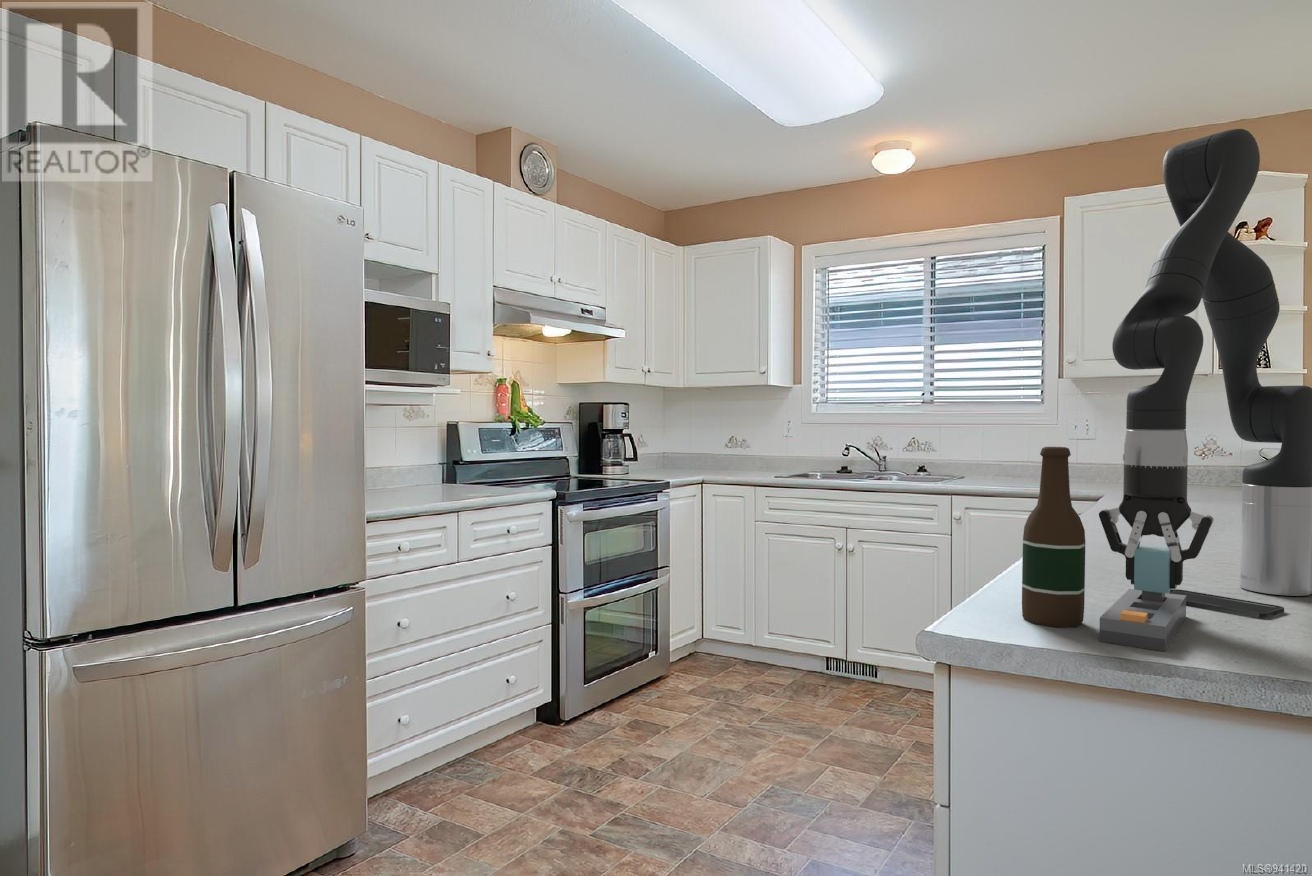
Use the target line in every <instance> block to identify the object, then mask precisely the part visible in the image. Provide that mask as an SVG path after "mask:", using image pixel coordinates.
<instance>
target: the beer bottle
mask: <svg viewBox="0 0 1312 876" xmlns="http://www.w3.org/2000/svg"><path fill="white" fill-rule="evenodd" d="M1039 455H1040V456H1041V457H1042V458H1041V469H1040V470H1041V472H1040V482H1039V493H1038V494H1039V495H1038V499H1037V503H1036V506H1035V507H1034V509H1033V510H1032V511H1031V512H1030V514H1029V515H1028V517H1027V519H1026V521H1025V524H1024V527H1023V535H1022V564H1021V565H1022V566H1021V568H1022V569H1021V571H1022V572H1021V577H1022V578H1021V587H1022V588H1021V610H1022V611H1021V613H1022V614H1021V616H1022V617H1023V619H1024V620H1025V621H1028V622H1029V623H1032V624H1034V625H1039V626H1043V627H1044V626H1045V627H1050V628H1051V627H1052V628H1077V627H1079V626H1080V625H1081V624H1083V622H1084V617H1085V615H1084V614H1085V597H1086V596H1085V595H1086V594H1085V590H1086V587H1085V585H1086V584H1085V583H1086V531H1085V528H1084V525H1083V521H1082V520H1081V516H1080V515H1079V514H1078V513H1077V511H1076V510H1075V509H1074V507H1073V504H1072V499H1071V488H1070V471H1069V467H1070V466H1069V457H1070V456H1071V451H1070V448H1068V447H1066V446H1044V447H1042V448H1041V451H1040V453H1039Z"/></svg>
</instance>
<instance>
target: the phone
mask: <svg viewBox="0 0 1312 876" xmlns="http://www.w3.org/2000/svg"><path fill="white" fill-rule="evenodd" d="M1169 594H1178V595H1186V607H1192V608H1198V609H1202V610H1209V611H1213V612H1214V611H1215V612H1220V613H1225V614H1229V615H1230V614H1231V615H1237V616H1242V617H1246V618H1247V617H1248V618H1252V619H1253V618H1254V619H1257V620H1259V619H1260V620H1265V619H1266V620H1267V619H1271V618H1273V617H1276V616H1280V615H1281V616H1282V615H1283V614H1285V607H1284V606H1281V605H1275V604H1269V603H1265V602H1264V603H1263V602H1256V601H1251V600H1246V599H1245V600H1244V599H1239V598H1233V597H1229V596H1228V597H1227V596H1223V595H1216V594H1215V595H1214V594H1209V593H1203V592H1198V591H1191V590H1185V589H1177V588H1176V589H1171V590H1170V592H1169Z"/></svg>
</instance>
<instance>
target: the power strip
mask: <svg viewBox="0 0 1312 876" xmlns="http://www.w3.org/2000/svg"><path fill="white" fill-rule="evenodd" d="M1186 617H1187V606H1186V595H1178V594H1169V593H1168V594H1167V593H1165V600H1164V601H1163V602H1158V601H1150V600H1142V590H1134V588H1128V590H1127V591H1125V593H1124V594H1122V596H1121V597H1119V598H1117V600H1116V601H1115V602H1114V603H1113V604H1112V605H1111V606H1110V607H1109V608H1108V609H1107V610H1105V612H1103V614H1102V615H1100V617H1099V629H1098V630H1099V635H1098V637H1099V638H1098V641H1099V642H1100V643H1101V642H1102V643H1108V644H1115V645H1121V646H1127V647H1132V648H1133V647H1134V648H1140V649H1146V650H1152V651H1160V652H1166V651H1167V649H1168V647H1169V645H1170V644H1171V643H1172V641H1173V640H1174V638H1175V636H1176V634H1177V633H1178V631H1179V629H1180V627H1181V626H1182V624H1183V622H1184V620H1185V619H1186Z"/></svg>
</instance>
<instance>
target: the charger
mask: <svg viewBox="0 0 1312 876" xmlns="http://www.w3.org/2000/svg"><path fill="white" fill-rule="evenodd" d="M1170 561H1171V556H1170V552H1169V549H1168V547H1164V546H1153V545H1141V544H1140V546H1139V547H1138V548H1137V549H1135V558H1134V585H1133V589H1134V590H1142V600H1150V601H1158V602H1163V601H1164V600H1165V593H1167V594H1168V593H1169V592H1170V590H1171V589H1170Z"/></svg>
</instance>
